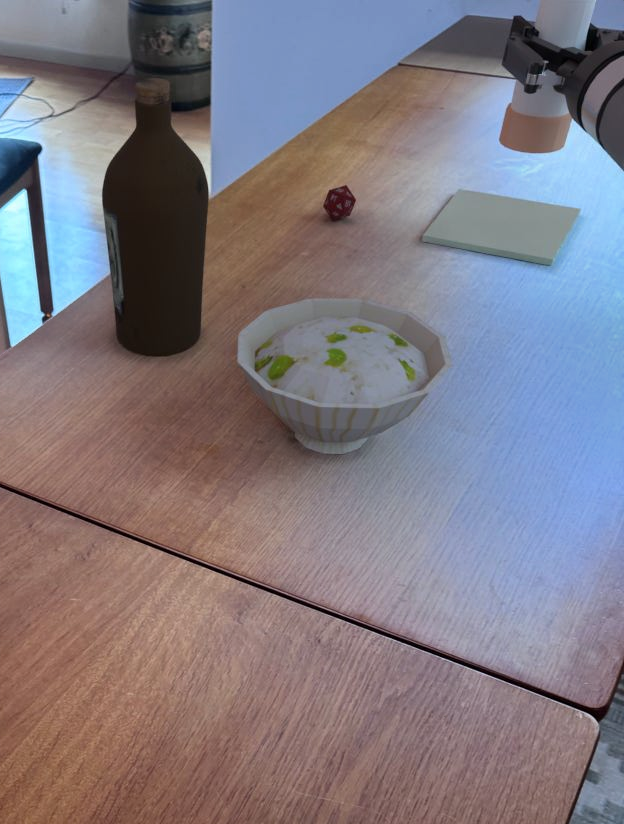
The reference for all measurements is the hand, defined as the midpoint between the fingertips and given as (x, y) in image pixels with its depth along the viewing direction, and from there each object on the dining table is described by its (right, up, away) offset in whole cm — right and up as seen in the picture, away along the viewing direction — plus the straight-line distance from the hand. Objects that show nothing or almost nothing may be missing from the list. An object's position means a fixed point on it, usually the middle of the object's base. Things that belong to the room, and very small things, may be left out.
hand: (542, 28), depth 101 cm
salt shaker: (+1, -11, +4) cm, 11 cm away
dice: (-19, -12, +19) cm, 30 cm away
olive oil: (-43, -34, +1) cm, 55 cm away
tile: (+2, -15, +16) cm, 22 cm away
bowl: (-26, -48, -13) cm, 56 cm away
